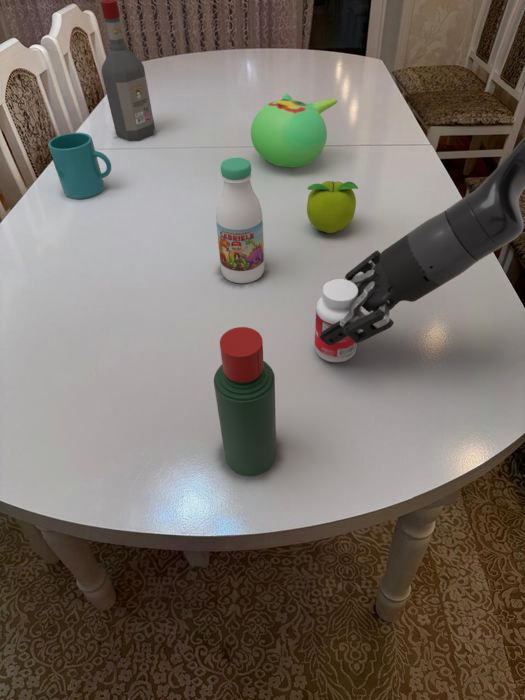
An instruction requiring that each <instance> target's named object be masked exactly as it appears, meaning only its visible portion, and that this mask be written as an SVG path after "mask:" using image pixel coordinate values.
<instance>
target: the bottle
mask: <svg viewBox="0 0 525 700" xmlns="http://www.w3.org/2000/svg"><path fill="white" fill-rule="evenodd" d="M263 364H264V368H263V371H262V373H261V375H260V376H259V377H257V378H256V379H254V380H252V381H249V382H235V381H232V380H230V379H229V378H228V377H227V376H226V375H225V374H224V372H223V366H222V364H221V365H220V366H219V367H218V369H216V371H215V373H214V376H213V387H214V393H215V399H216V407H217V413H218V421H219V426H220V433H221V439H222V446H223V453H224V458H225V459H224V460H225V462H226V465H227V466H228V467H229V468H230V470H232V471H233V472H234V473H236V474H238V475H242V476H246V477H254V476H258V475H261V474H263V473H265V472H267V471H268V470H269V469H270V468H271V467H272V466H273V465H274V463H275V461H276V458H277V425H276V423H277V421H276V420H277V419H276V377H275V372H274V370H273V368H272V367H271V366H270V365H269V364H268V363H267V362H266V361H265V360H263Z"/></svg>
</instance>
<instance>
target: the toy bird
mask: <svg viewBox="0 0 525 700" xmlns="http://www.w3.org/2000/svg"><path fill="white" fill-rule="evenodd" d="M338 101H339V100H338V99H337V98H330V99H324V100H318V101H314V102H309V103H306V102H303V101H300V100H296V99H295V100H294V99H293V97H291V95H289V93H284V94H283V95H282V97H281V99H277V100H274V101H272V102H269V103H267V104H265V105H264V106H263V107H262V108H260V110H259V111H258V112H257V113H256V115H255V116H254V118H253V120H252V122H251V127H250V138H251V143H252V146H253V147H254V149H255V151H256V153H258V154H259V156H260V157H261V158H263V159H264V160H265V161H266V162H267V163H270V164H272V165H274V166H277V167H282V168H299V167H300V168H301V167H305V166H306V165H309V164H310V163H312V162H314V161H315V160H316V159H317V158H318V157H319V156H320V155H321V153H322V152H323V151H324V149H325V145H326V143H327V140H328V139H327V138H328V130H327V129H328V128H327V125H326V122H325V120H324V118H323V116H322V113H324V112H325V111H327V110H328V109H330V108H331V107H333V106H334V105H336V104H337V103H338Z"/></svg>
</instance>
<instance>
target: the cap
mask: <svg viewBox="0 0 525 700" xmlns="http://www.w3.org/2000/svg"><path fill="white" fill-rule="evenodd" d="M219 349H220V356H221V357H220V358H221V365H222V366H223V372H224V374H225V375H226V376H227V377H228V378H229V379H230V380H232V381H235V382H249V381H252V380H254V379H256V378H257V377H259V376H260V375H261V373H262V371H263V368H264V364H263V361H264V343H263V337H262V335H261V334H260V332H259V331H258V330H256V329H254V328H251V327H248V326H238V327H233V328H231V329H229V330H226V331H225V332H224V333H223V334H222V336H221V337H220V339H219Z"/></svg>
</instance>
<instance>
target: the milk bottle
mask: <svg viewBox="0 0 525 700" xmlns="http://www.w3.org/2000/svg"><path fill="white" fill-rule="evenodd" d="M220 174H221V179H222V180H223V183H222V190H221V193H220V196H219V198H218V201H217V204H216V211H215V212H216V213H215V219H216V220H215V221H216V232H217V242H218V243H217V244H218V253H219V261H220V262H219V263H220V269H221V274H222V275H223V277H224V278H225V279H226V280H228V281H229V282H231V283H236V284H247V283H253V282H255V281H257V280H259V278H262V275H263V274H264V272H265V241H264V221H263V219H264V218H263V211H262V205H261V203H260V201H259V200H260V199H259V198H258V196H257V194H256V192H255V190H254V188H253V185H252V182H251V178H252V164H251V162H250V160H248V159H247V158H243V157H229V158H227V159H224V160H223V161H222V162H221V163H220Z"/></svg>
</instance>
